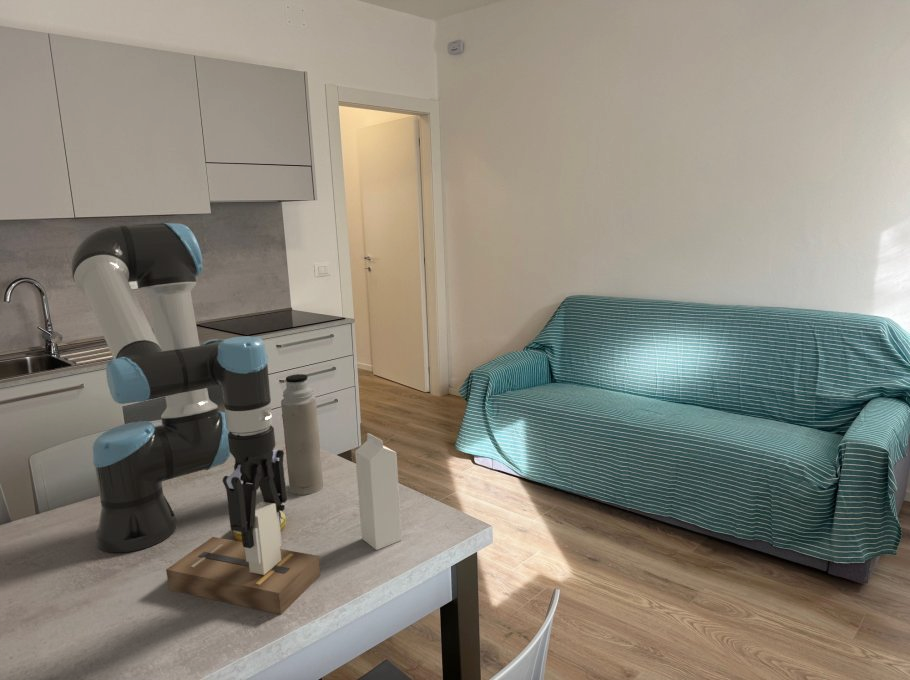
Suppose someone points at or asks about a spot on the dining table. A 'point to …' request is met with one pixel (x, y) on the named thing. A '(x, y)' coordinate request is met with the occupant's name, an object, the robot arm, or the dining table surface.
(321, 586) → the dining table surface
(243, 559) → the brown flat block
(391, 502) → the milk
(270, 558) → the fader tab
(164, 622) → the dining table surface
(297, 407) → the thermos bottle
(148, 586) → the dining table surface
